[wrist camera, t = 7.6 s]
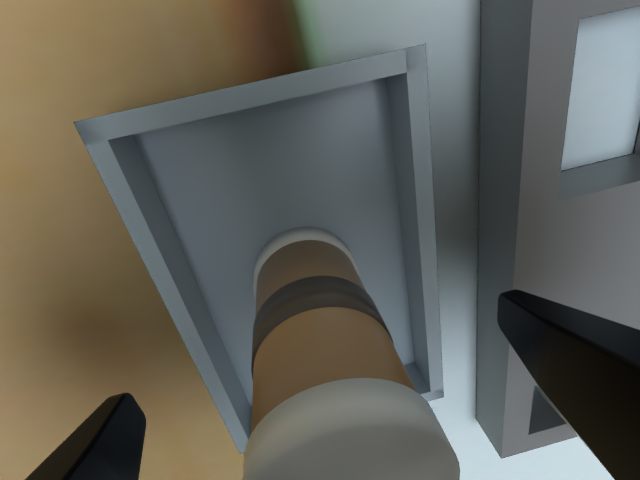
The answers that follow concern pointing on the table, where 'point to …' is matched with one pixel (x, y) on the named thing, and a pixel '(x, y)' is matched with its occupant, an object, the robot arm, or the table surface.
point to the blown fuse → (331, 375)
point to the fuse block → (543, 208)
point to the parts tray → (281, 204)
